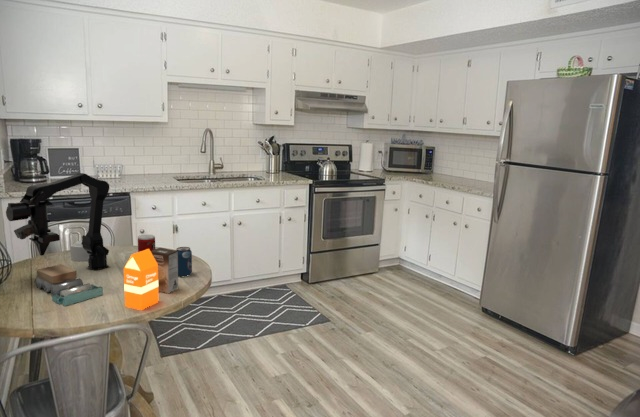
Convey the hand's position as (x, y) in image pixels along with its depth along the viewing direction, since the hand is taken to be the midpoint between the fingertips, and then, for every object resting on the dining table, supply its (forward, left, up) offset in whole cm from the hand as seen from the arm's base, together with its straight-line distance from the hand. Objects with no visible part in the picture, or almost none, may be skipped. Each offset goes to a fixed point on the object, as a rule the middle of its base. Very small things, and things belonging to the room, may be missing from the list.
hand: (41, 255), depth 175 cm
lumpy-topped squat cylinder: (-27, -17, -11) cm, 34 cm away
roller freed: (0, +25, -11) cm, 27 cm away
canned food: (-45, +4, -11) cm, 47 cm away
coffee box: (-25, +44, -11) cm, 51 cm away
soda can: (-41, +36, -11) cm, 55 cm away
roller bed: (0, +18, -11) cm, 21 cm away
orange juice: (-11, +50, -11) cm, 52 cm away
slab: (0, +11, -7) cm, 13 cm away
